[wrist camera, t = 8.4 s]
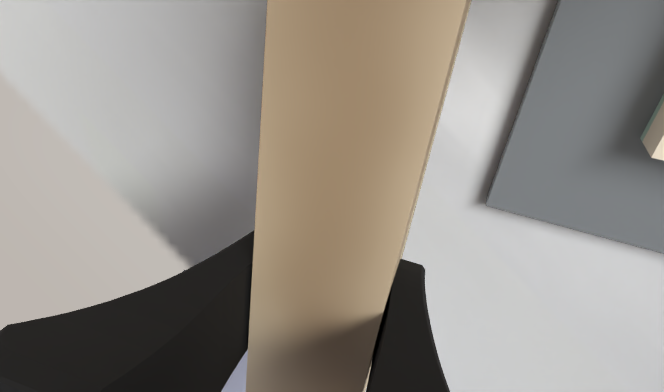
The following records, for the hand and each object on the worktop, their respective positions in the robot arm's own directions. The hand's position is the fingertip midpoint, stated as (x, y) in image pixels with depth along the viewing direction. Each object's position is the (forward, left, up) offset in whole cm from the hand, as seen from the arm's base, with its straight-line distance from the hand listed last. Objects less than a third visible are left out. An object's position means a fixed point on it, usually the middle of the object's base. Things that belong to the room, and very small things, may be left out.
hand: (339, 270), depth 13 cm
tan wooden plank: (0, +2, -2) cm, 3 cm away
